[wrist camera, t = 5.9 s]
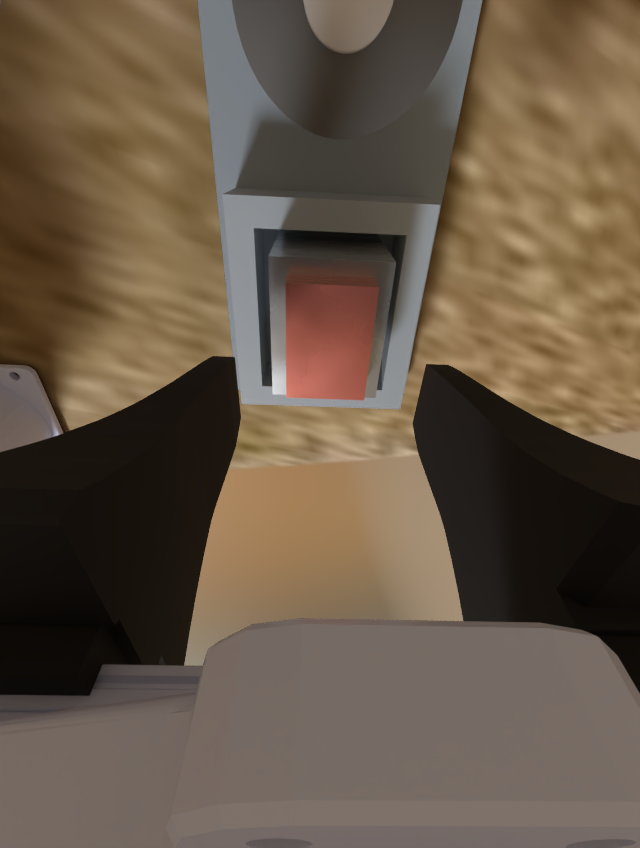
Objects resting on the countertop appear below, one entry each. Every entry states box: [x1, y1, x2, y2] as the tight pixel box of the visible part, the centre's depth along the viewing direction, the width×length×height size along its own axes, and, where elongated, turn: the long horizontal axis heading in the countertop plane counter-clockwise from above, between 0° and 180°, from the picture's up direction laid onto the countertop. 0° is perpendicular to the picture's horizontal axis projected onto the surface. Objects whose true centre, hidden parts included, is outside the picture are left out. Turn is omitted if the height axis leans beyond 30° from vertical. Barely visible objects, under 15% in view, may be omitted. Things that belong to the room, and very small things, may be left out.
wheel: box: [232, 0, 463, 139], centre depth 9 cm, size 5×5×2 cm
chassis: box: [198, 0, 482, 409], centre depth 15 cm, size 9×17×4 cm, turn 178°
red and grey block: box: [268, 229, 396, 400], centre depth 15 cm, size 4×5×6 cm
